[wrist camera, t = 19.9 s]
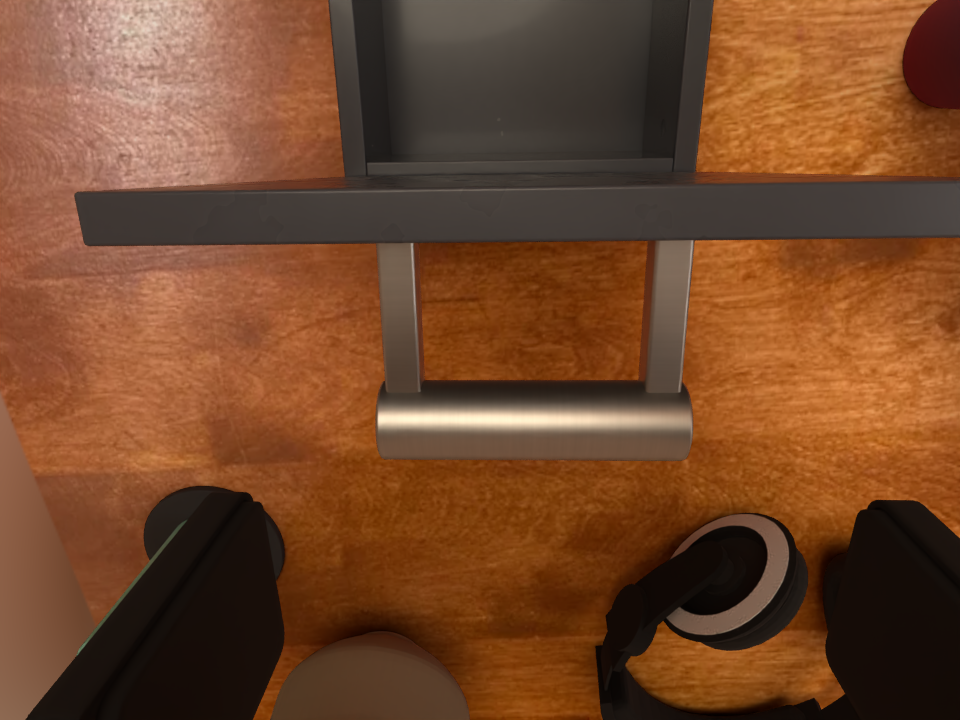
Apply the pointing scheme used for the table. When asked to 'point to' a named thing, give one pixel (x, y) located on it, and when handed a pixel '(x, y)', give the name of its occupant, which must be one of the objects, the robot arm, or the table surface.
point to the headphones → (714, 611)
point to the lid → (530, 218)
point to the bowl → (371, 683)
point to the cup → (935, 56)
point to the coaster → (180, 509)
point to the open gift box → (519, 85)
